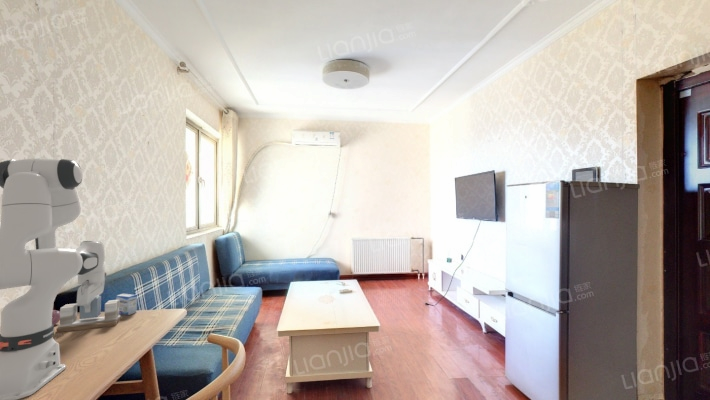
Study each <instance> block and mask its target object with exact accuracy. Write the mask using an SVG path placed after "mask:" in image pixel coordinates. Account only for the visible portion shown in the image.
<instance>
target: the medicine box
mask: <svg viewBox="0 0 710 400" xmlns="http://www.w3.org/2000/svg"><path fill="white" fill-rule="evenodd" d="M137 298H138V294H130V293H120V294H117V295H116V296H115V300H119V315H125V316H130V315H132V314H133V315H134V314H135V313H137V312H136V311H137V309H138V308H137V307H138V305H137V304H138V303H137V302H138V299H137Z"/></svg>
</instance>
